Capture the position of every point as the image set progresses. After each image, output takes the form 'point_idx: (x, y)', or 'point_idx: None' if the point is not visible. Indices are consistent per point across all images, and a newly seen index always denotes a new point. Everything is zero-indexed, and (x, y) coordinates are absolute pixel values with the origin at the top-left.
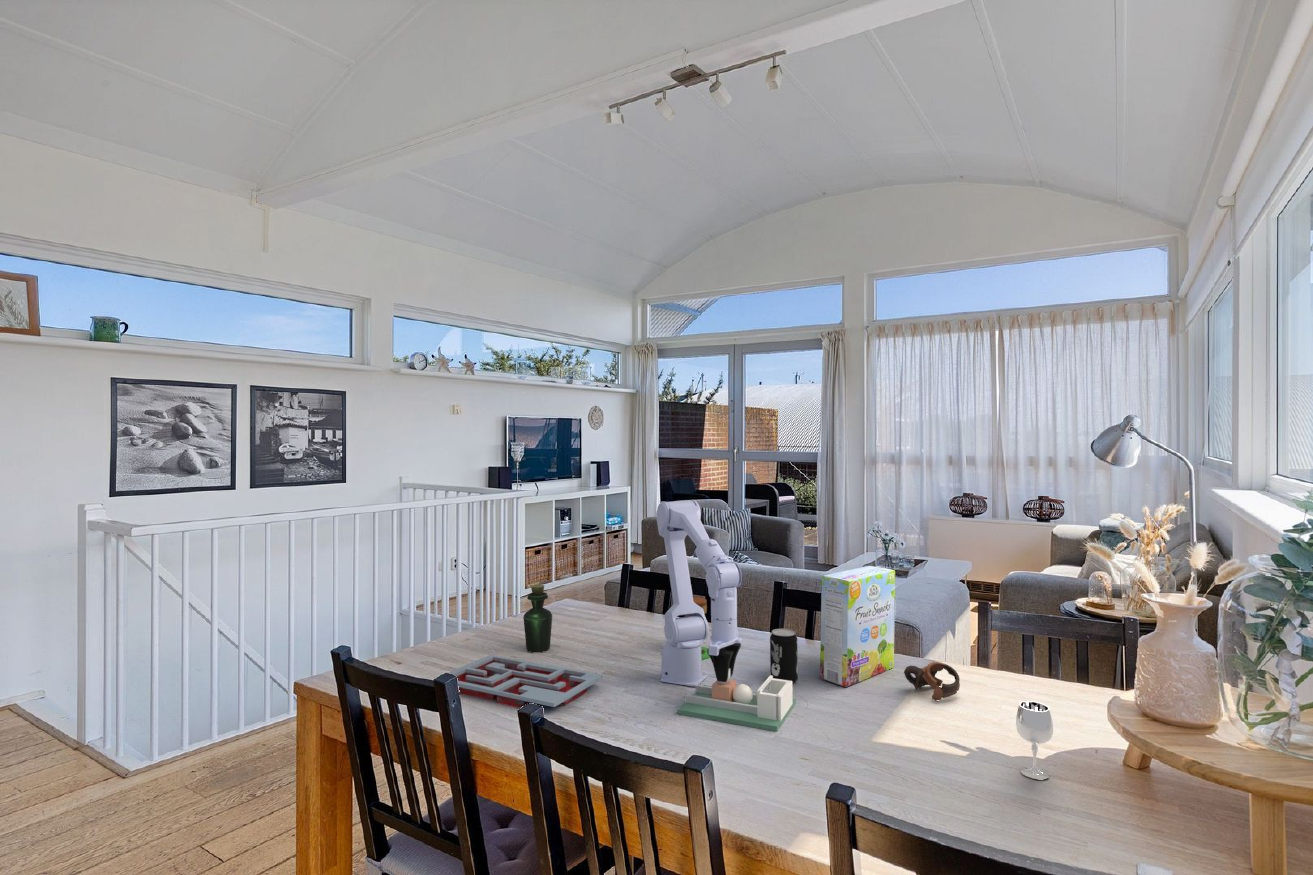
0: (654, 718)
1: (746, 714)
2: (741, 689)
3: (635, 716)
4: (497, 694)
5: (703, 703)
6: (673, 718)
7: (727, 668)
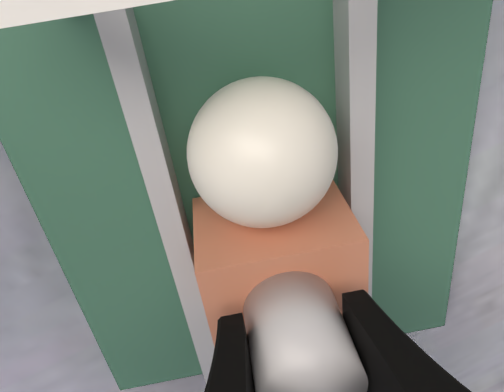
0: (498, 341)
1: (388, 30)
2: (320, 165)
3: (497, 384)
4: None
5: None
6: (480, 299)
7: (444, 371)
